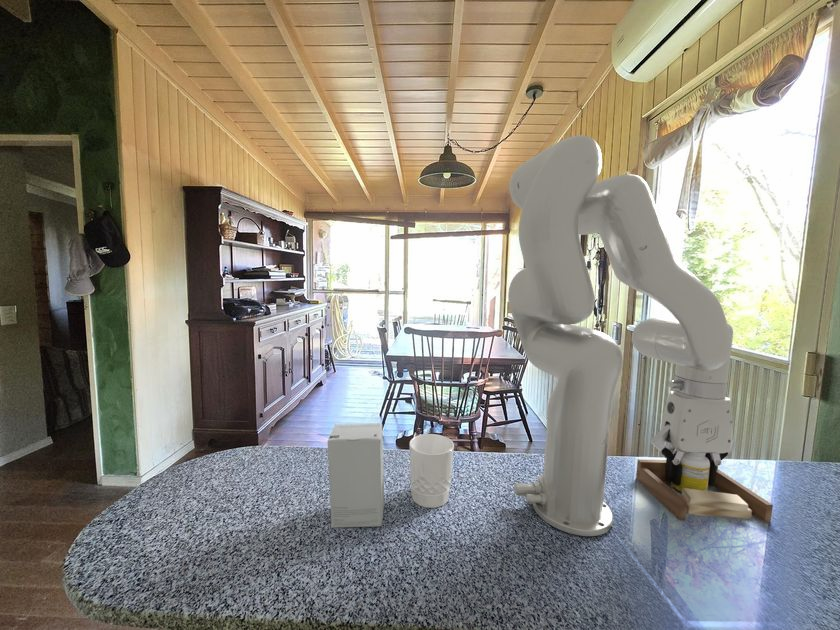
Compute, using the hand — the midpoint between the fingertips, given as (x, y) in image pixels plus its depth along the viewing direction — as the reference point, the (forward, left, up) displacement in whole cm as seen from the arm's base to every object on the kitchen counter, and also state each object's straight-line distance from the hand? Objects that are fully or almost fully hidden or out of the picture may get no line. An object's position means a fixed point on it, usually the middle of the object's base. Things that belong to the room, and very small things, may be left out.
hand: (689, 480), depth 67 cm
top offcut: (0, -5, -1) cm, 5 cm away
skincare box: (-61, -9, -3) cm, 61 cm away
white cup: (-49, -3, -3) cm, 49 cm away
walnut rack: (0, -3, -2) cm, 4 cm away
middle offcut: (0, -5, -2) cm, 6 cm away
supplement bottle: (0, 0, -3) cm, 3 cm away
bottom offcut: (0, -5, -3) cm, 6 cm away
